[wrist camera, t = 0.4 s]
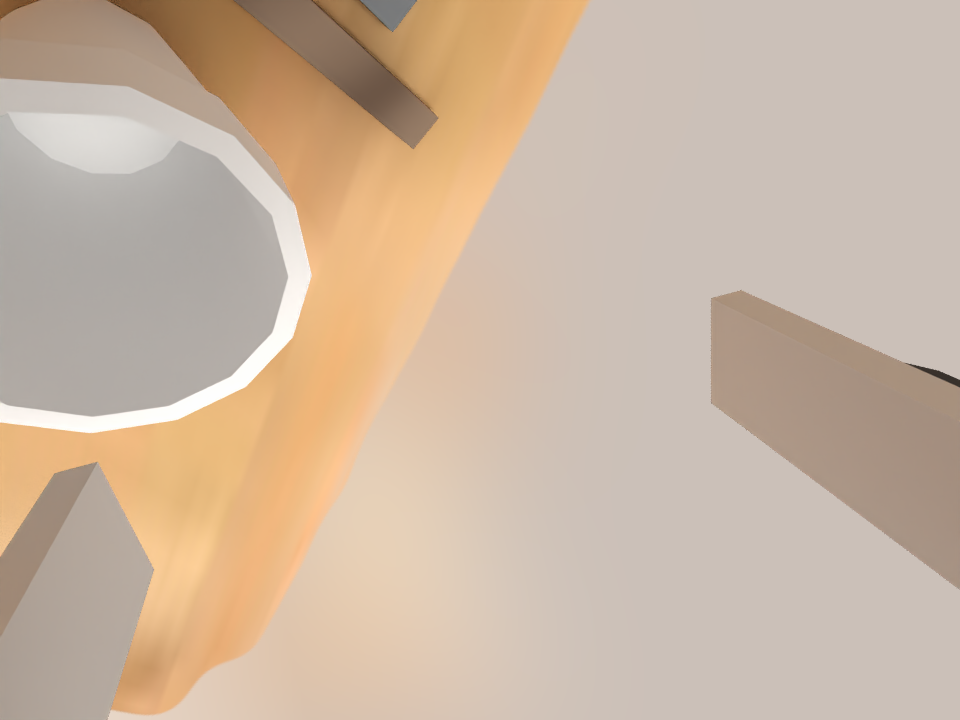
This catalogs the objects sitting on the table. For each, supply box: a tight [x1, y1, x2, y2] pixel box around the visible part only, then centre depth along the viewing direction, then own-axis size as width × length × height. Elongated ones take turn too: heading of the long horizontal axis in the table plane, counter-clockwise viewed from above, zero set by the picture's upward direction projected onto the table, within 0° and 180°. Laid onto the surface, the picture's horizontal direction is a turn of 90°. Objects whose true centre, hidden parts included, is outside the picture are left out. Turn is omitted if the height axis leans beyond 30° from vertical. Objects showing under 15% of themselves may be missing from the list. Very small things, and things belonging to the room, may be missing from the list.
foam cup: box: [0, 0, 312, 433], centre depth 19 cm, size 10×9×13 cm
